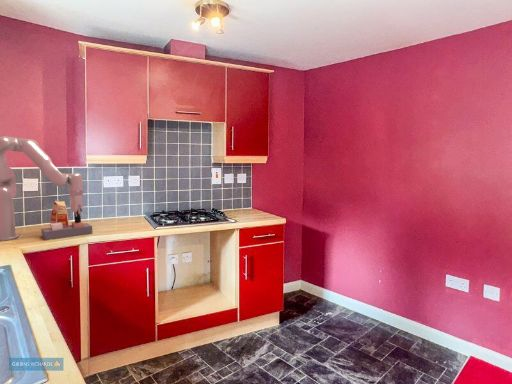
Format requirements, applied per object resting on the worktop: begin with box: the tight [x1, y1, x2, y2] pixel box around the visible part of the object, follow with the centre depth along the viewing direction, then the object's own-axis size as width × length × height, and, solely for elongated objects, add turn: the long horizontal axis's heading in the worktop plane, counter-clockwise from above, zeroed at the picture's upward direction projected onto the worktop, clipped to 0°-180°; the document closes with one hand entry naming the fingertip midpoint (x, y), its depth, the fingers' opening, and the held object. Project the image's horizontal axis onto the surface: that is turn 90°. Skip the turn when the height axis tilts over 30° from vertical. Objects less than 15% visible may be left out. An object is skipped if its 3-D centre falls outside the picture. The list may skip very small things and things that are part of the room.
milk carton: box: [49, 199, 70, 226], centre depth 242 cm, size 9×9×20 cm
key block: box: [41, 222, 93, 241], centre depth 229 cm, size 11×26×5 cm, turn 130°
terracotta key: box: [71, 221, 85, 227], centre depth 232 cm, size 6×6×5 cm
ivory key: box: [49, 222, 63, 230], centre depth 225 cm, size 6×6×5 cm
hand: (77, 222), depth 232 cm, fingers closed
